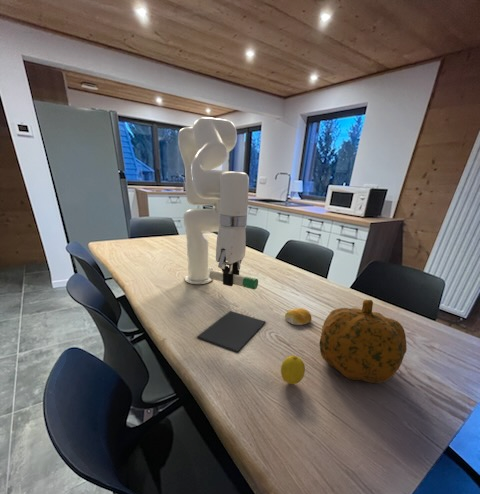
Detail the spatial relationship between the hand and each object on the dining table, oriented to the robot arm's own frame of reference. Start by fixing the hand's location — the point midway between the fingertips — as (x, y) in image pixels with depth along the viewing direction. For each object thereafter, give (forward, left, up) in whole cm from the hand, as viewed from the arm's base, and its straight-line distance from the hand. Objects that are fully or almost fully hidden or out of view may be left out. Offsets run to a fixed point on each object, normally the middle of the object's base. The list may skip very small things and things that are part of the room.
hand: (230, 282), depth 81 cm
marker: (0, +1, 0) cm, 1 cm away
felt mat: (+1, +2, -15) cm, 16 cm away
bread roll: (-17, +18, -16) cm, 29 cm away
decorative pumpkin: (0, +39, -16) cm, 42 cm away
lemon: (+15, +26, -16) cm, 34 cm away
